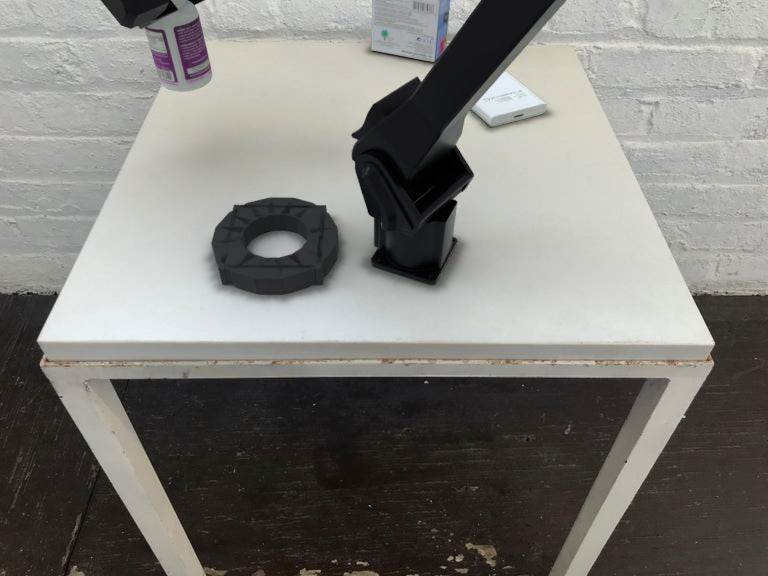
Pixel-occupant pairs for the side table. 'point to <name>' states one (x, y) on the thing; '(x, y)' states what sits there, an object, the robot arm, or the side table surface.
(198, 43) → the pill bottle
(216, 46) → the side table surface
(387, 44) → the ink cartridge box
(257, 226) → the pad
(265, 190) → the side table surface
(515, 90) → the hard drive
